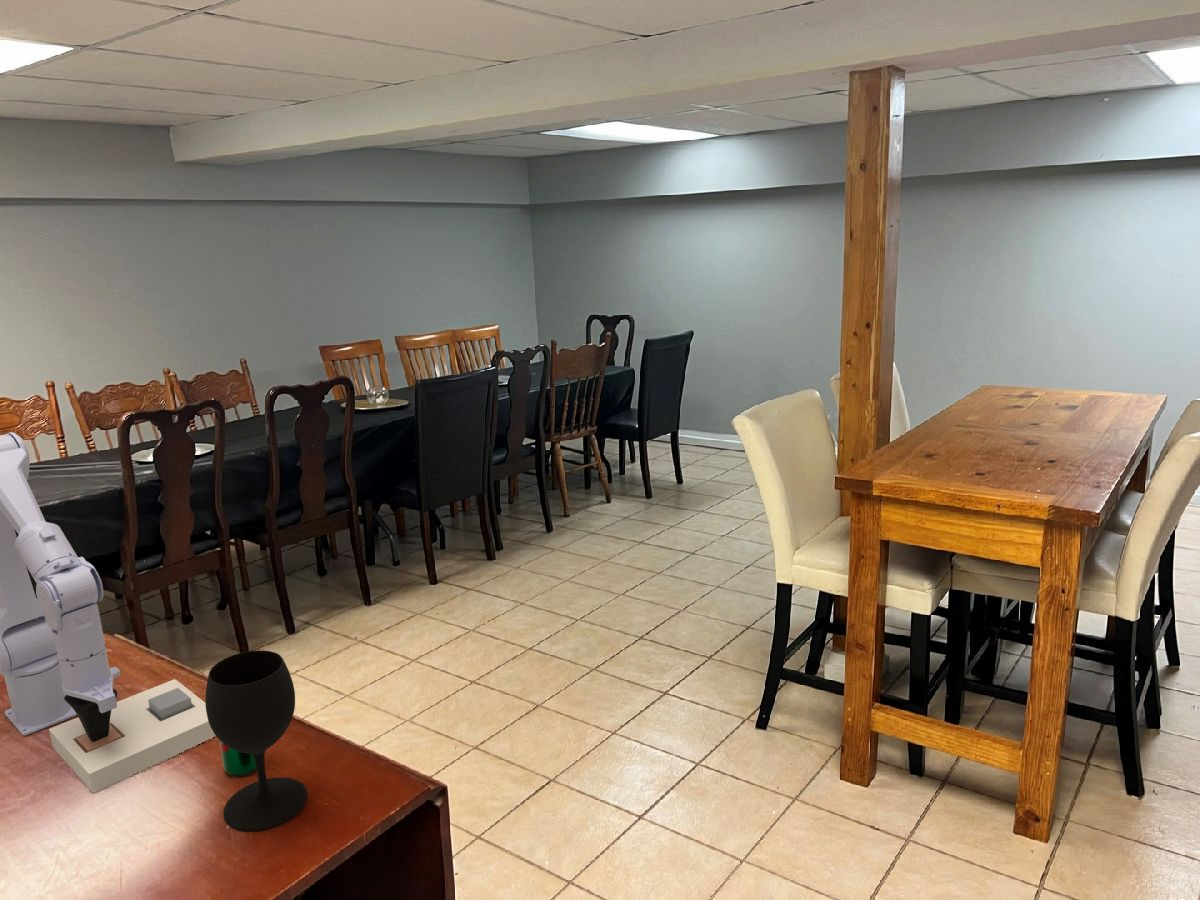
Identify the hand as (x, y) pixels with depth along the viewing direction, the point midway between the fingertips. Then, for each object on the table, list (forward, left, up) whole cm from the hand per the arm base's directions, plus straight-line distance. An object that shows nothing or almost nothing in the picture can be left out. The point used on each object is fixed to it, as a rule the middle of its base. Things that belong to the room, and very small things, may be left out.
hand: (99, 737), depth 124 cm
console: (0, +5, -3) cm, 6 cm away
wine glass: (+28, +10, -3) cm, 30 cm away
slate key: (0, +10, 0) cm, 10 cm away
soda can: (+18, +12, -3) cm, 22 cm away
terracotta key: (0, 0, -1) cm, 1 cm away
